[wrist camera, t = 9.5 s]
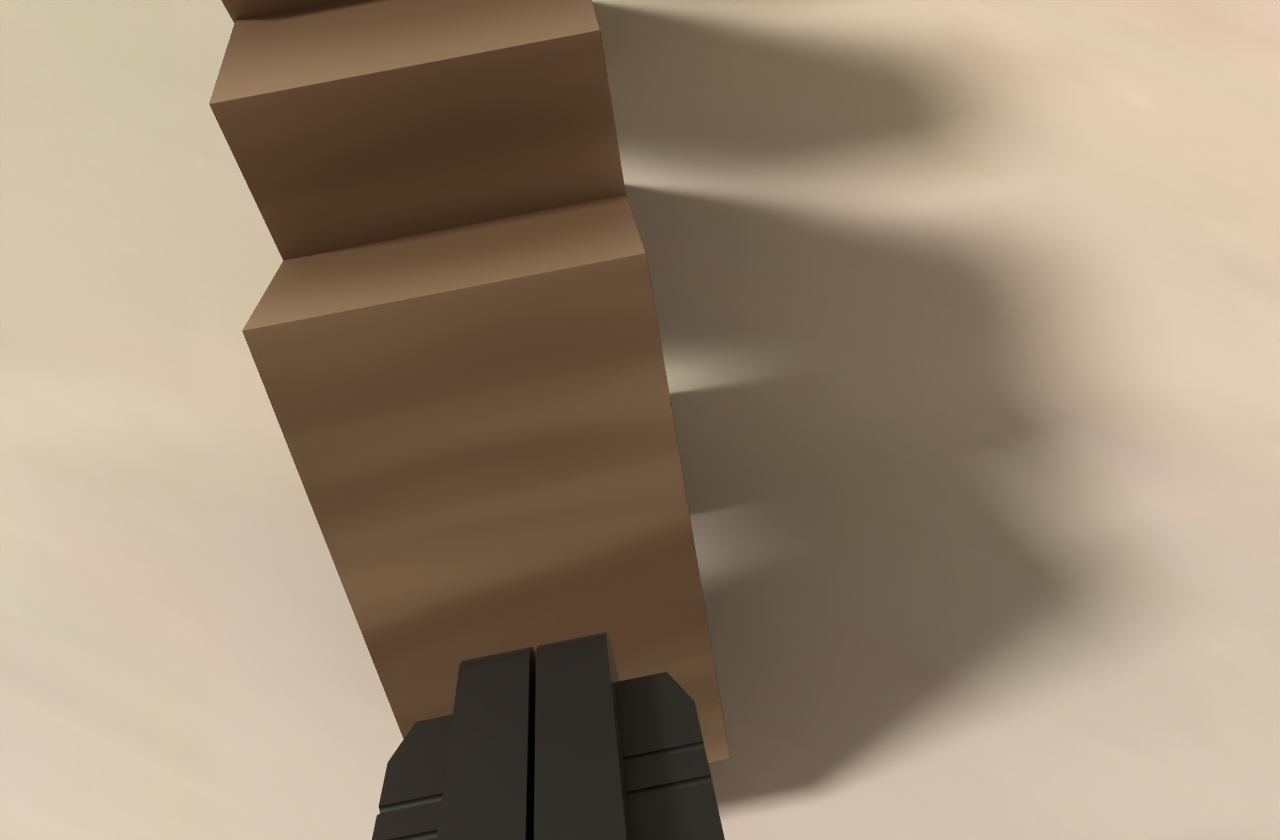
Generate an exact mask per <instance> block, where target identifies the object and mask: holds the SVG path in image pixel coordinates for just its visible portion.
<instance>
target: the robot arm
mask: <svg viewBox="0 0 1280 840" xmlns="http://www.w3.org/2000/svg"><path fill="white" fill-rule="evenodd" d="M379 809H380V814H379V815H377V817H376V822H375V827H374V832H373V837H372V840H725V839H724V834H723V830H722V825H721V820H720V816H719V811H718V807H717V802H716V797H715V793H714V788H713V784H712V779H711V774H710V770H709V765H708V760H707V756H706V751H705V747H704V742H703V737H702V733H701V728H700V724H699V719H698V714H697V710H696V705H695V701H694V700H693V699H692V698H691V697H690V696H689V695H688V694H687V693H686V692H685V691H684V689H683V688H682V687H681V686H680V685H679V684H678V683H677V682H676V681H675V680H674V679H673V678H672V677H671V676H670V675H669V674H668V673H667V672H663V673H658V674H653V675H648V676H643V677H638V678H633V679H628V680H623V681H619V677H618V673H617V668H616V664H615V659H614V655H613V651H612V646H611V642H610V639H609V635H608V633H607V632H604V633H599V634H594V635H589V636H584V637H579V638H574V639H569V640H564V641H559V642H554V643H549V644H544V645H539V646H537V649H536V651H535V649H534V648H533V647H528V648H523V649H518V650H513V651H508V652H503V653H498V654H493V655H488V656H483V657H478V658H473V659H468V660H463V661H461V663H460V666H459V671H458V679H457V686H456V694H455V702H454V710H453V714H452V715H447V716H442V717H437V718H432V719H427V720H422V721H417V722H416V723H415V724H414V725H413V727H412V728H411V730H410V731H409V733H408V734H407V736H406V737H405V738H404V740H403V741H402V743H401V744H400V746H399V747H398V749H397V750H396V751H395V753H394V754H393V756H392V757H391V759H390V760H389V762H388V764H387V769H386V774H385V778H384V783H383V788H382V793H381V798H380V803H379Z"/></svg>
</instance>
